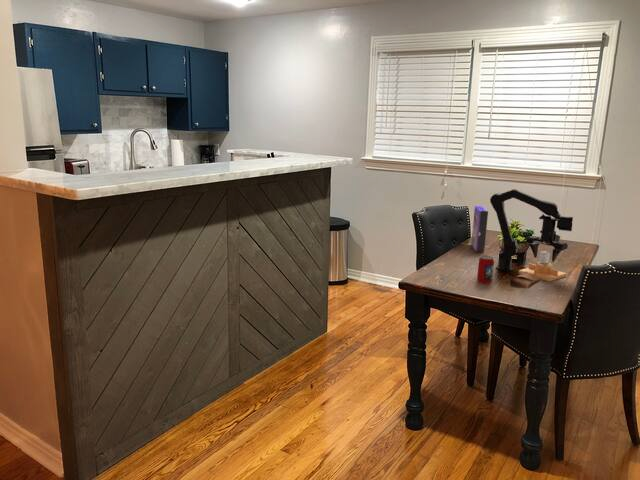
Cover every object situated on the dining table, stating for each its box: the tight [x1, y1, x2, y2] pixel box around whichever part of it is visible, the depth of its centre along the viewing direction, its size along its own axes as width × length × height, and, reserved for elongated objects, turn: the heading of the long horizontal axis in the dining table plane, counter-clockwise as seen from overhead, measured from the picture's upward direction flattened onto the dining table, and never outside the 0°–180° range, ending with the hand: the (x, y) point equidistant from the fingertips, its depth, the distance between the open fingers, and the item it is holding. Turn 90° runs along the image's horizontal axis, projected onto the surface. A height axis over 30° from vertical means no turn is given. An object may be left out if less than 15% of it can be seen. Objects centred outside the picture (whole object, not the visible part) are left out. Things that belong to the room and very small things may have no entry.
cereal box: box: [470, 205, 489, 252], centre depth 303 cm, size 17×5×24 cm, turn 172°
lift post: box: [538, 250, 551, 264], centre depth 253 cm, size 3×3×10 cm
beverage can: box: [476, 255, 495, 285], centre depth 238 cm, size 7×7×12 cm
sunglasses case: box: [509, 271, 541, 290], centre depth 241 cm, size 18×7×7 cm
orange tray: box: [518, 261, 568, 282], centre depth 254 cm, size 16×16×6 cm
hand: (544, 259), depth 253 cm, fingers open, 9 cm apart
